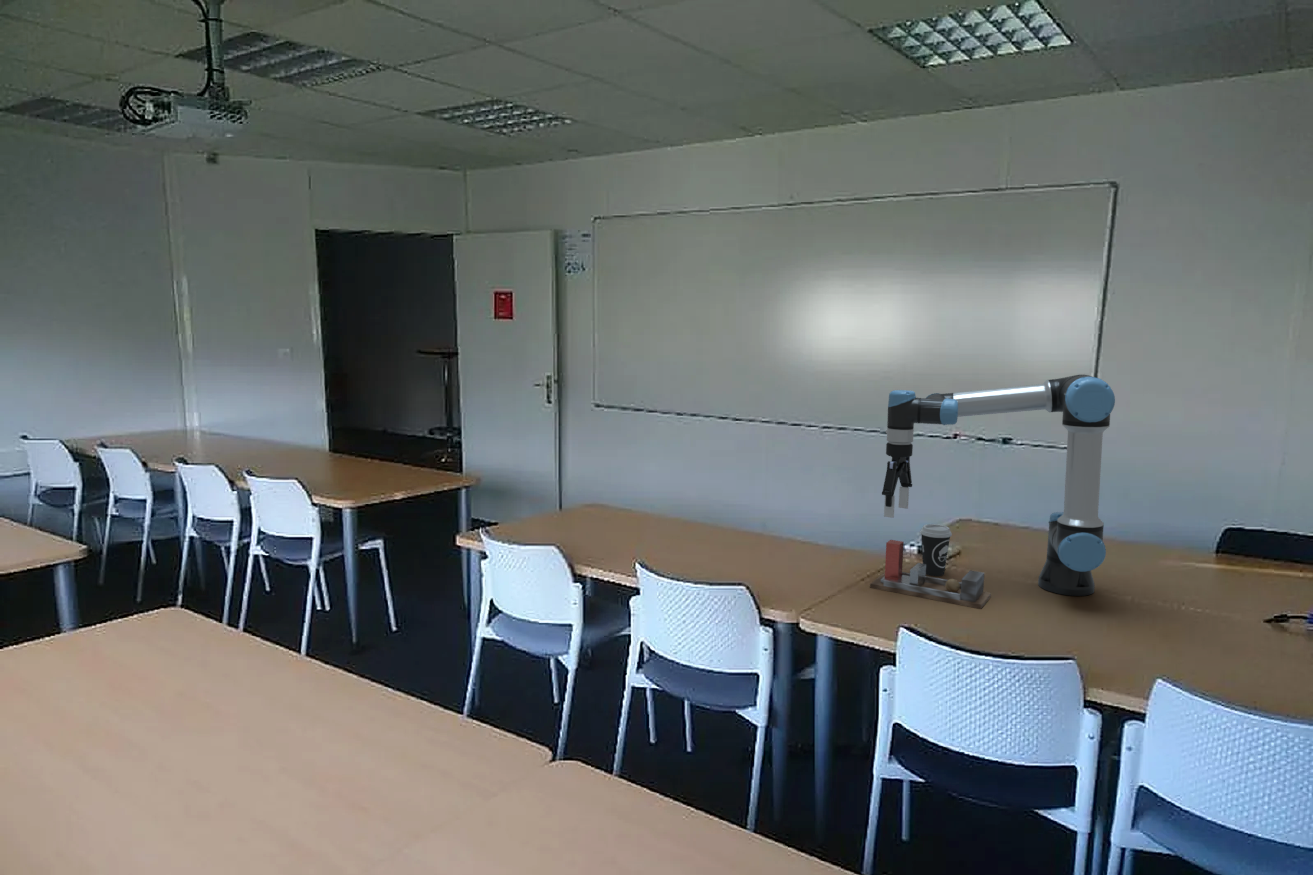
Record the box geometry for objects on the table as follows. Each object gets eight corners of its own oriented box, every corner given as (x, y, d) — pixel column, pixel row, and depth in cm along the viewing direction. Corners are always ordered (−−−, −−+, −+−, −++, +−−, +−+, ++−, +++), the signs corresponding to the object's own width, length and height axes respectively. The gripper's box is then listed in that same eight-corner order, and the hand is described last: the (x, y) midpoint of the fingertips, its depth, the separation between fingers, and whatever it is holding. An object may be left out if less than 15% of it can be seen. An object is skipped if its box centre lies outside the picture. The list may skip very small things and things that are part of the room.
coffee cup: (945, 568, 263) (947, 523, 261) (952, 578, 253) (955, 531, 251) (915, 567, 264) (917, 523, 262) (921, 577, 254) (924, 530, 252)
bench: (990, 596, 237) (992, 573, 236) (981, 609, 227) (982, 584, 226) (883, 576, 255) (884, 554, 254) (870, 587, 245) (871, 564, 244)
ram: (925, 582, 245) (927, 543, 243) (917, 589, 239) (919, 549, 237) (889, 575, 251) (891, 537, 250) (880, 582, 245) (882, 543, 243)
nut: (956, 593, 238) (964, 582, 237) (953, 597, 235) (960, 586, 234) (944, 584, 240) (952, 574, 238) (941, 588, 237) (948, 578, 235)
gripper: (900, 436, 253) (897, 502, 256) (872, 447, 232) (869, 519, 235) (924, 438, 248) (921, 506, 252) (898, 449, 228) (895, 522, 231)
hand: (896, 512), depth 244 cm, fingers open, 13 cm apart
